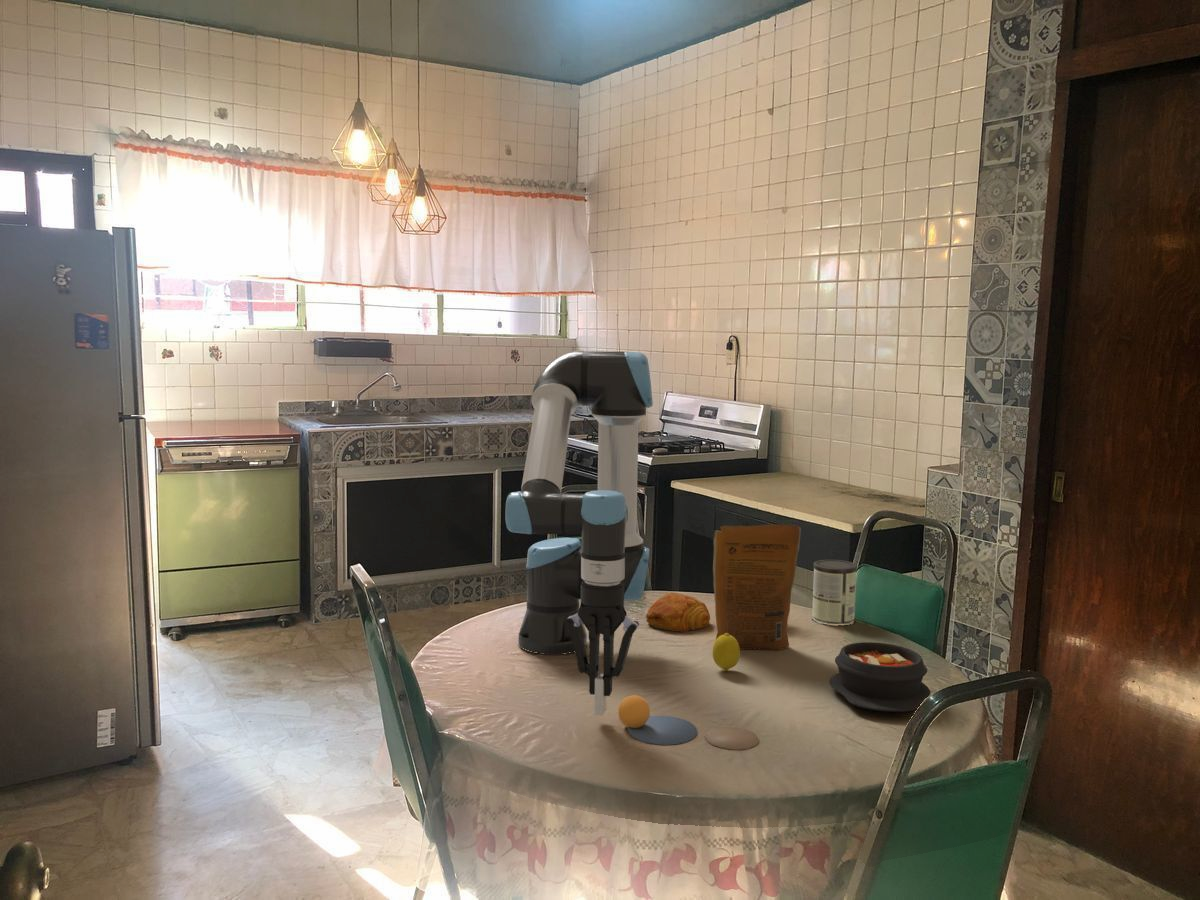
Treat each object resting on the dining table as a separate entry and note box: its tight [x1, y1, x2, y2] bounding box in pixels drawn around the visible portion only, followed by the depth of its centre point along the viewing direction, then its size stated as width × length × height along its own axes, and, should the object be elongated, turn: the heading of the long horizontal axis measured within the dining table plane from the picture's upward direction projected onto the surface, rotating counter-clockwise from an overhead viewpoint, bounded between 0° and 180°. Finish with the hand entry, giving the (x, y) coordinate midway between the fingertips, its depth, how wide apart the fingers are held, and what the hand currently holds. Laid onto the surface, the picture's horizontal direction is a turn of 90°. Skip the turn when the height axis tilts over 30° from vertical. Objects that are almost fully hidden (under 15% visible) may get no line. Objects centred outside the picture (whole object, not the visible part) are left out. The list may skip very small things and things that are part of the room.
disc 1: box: [627, 714, 698, 746], centre depth 161 cm, size 12×12×1 cm
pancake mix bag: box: [712, 524, 802, 651], centre depth 205 cm, size 7×19×28 cm, turn 87°
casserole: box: [829, 641, 932, 713], centre depth 178 cm, size 25×19×8 cm
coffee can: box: [811, 559, 858, 624], centre depth 227 cm, size 10×10×14 cm
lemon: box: [712, 633, 741, 672], centre depth 190 cm, size 6×6×8 cm
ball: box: [617, 694, 651, 728], centre depth 162 cm, size 6×6×6 cm
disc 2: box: [704, 726, 760, 751], centre depth 158 cm, size 9×9×1 cm
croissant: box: [645, 592, 711, 633], centre depth 223 cm, size 14×16×8 cm
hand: (600, 712), depth 163 cm, fingers closed
